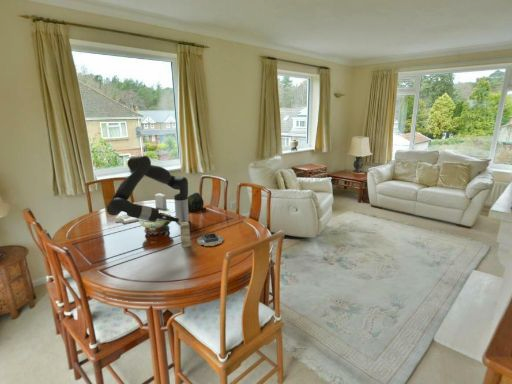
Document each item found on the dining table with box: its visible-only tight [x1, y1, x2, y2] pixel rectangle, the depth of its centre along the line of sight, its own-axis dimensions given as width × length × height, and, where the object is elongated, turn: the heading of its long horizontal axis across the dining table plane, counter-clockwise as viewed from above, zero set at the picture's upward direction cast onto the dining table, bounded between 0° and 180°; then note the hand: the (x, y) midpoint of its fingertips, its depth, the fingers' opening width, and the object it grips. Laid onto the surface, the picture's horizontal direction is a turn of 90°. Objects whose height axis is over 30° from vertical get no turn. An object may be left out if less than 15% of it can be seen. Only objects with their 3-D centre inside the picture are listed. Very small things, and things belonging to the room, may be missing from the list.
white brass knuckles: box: [115, 213, 140, 225], centre depth 217 cm, size 3×18×15 cm
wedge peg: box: [179, 222, 191, 248], centre depth 173 cm, size 4×4×14 cm
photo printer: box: [154, 193, 167, 210], centre depth 243 cm, size 10×4×12 cm, turn 60°
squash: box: [188, 192, 205, 211], centre depth 240 cm, size 14×15×15 cm
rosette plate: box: [196, 232, 224, 247], centre depth 180 cm, size 16×16×3 cm
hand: (175, 219), depth 167 cm, fingers open, 8 cm apart
